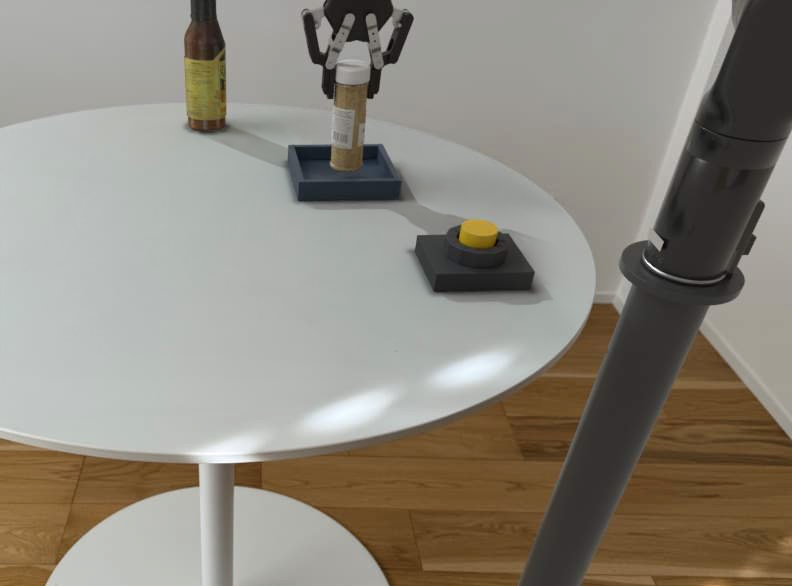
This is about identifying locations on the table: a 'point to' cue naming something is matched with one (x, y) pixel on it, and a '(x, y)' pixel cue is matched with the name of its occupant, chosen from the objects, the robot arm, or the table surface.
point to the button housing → (472, 263)
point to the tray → (342, 174)
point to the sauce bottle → (205, 68)
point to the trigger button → (478, 234)
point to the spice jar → (349, 115)
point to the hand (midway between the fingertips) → (349, 96)
